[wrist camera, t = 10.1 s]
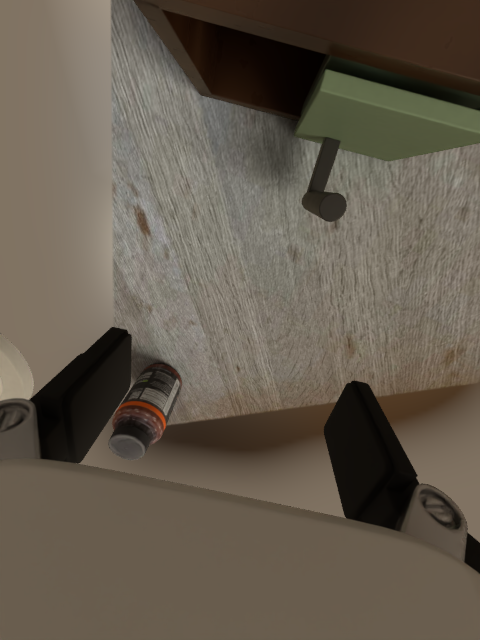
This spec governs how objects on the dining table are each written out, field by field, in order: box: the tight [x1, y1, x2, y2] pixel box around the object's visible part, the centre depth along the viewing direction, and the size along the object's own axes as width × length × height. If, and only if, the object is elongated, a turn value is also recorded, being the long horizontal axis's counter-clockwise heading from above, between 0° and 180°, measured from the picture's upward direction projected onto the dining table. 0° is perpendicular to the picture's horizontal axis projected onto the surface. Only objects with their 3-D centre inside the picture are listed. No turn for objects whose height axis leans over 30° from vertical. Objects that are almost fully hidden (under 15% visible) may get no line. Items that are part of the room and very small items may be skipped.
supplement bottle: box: [109, 364, 182, 460], centre depth 32 cm, size 6×6×11 cm
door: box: [294, 69, 480, 222], centre depth 19 cm, size 9×6×12 cm
